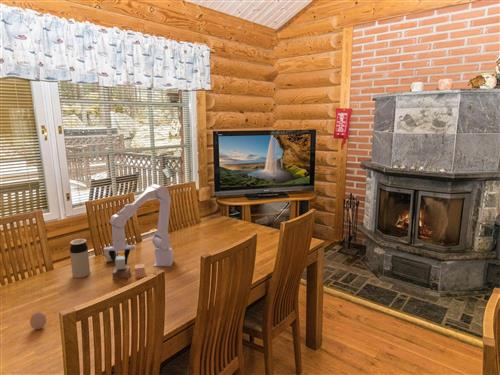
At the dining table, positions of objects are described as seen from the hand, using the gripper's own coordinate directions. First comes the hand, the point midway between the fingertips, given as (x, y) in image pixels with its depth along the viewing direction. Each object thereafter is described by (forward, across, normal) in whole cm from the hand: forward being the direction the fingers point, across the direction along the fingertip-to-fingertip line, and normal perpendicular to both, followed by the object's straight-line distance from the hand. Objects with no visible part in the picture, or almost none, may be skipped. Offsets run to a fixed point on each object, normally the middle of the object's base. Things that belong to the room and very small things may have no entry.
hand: (120, 264), depth 168 cm
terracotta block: (+6, -9, +1) cm, 11 cm away
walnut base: (+7, 0, 0) cm, 7 cm away
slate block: (+2, 0, 0) cm, 2 cm away
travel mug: (+7, +20, -6) cm, 22 cm away
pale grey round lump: (+7, +8, -21) cm, 23 cm away
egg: (+7, +24, +39) cm, 46 cm away
